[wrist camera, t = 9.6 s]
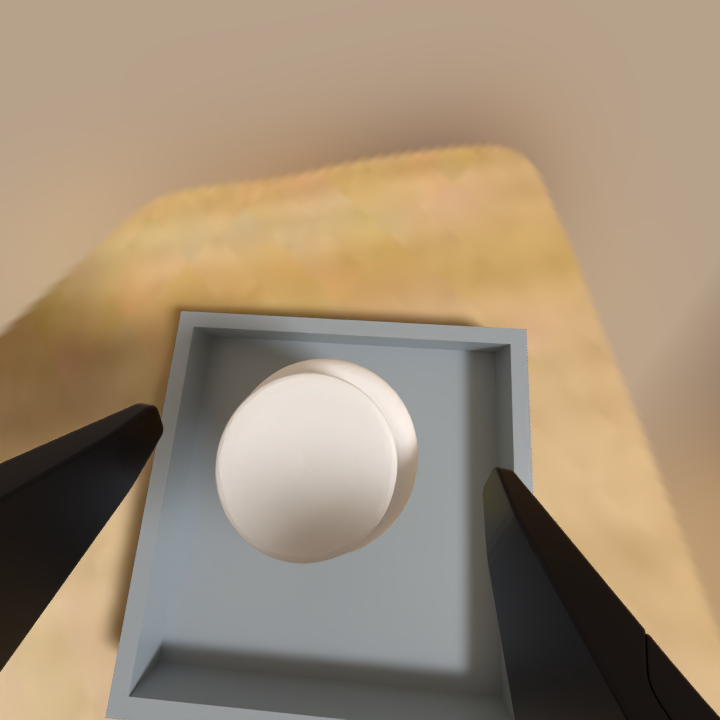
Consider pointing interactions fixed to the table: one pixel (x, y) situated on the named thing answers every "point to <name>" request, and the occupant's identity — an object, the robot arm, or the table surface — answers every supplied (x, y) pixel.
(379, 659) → the tray
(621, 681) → the robot arm
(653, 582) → the table surface
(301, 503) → the supplement bottle
